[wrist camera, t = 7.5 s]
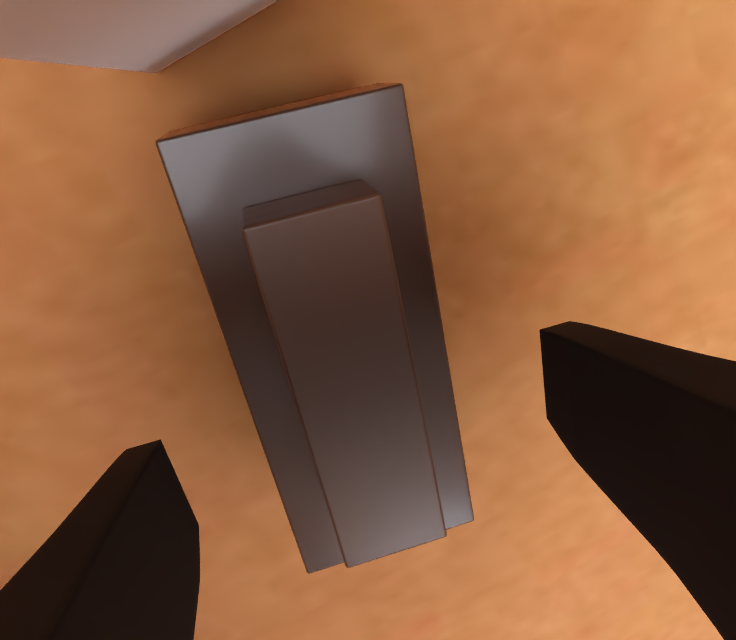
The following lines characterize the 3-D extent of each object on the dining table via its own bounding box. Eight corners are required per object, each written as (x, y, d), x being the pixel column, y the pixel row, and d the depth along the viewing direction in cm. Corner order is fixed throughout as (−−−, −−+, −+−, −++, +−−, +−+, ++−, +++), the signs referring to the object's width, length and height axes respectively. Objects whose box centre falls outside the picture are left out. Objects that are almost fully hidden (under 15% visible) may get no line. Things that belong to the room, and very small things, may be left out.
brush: (434, 444, 18) (500, 568, 14) (295, 486, 18) (315, 629, 13) (365, 82, 13) (429, 82, 9) (175, 126, 13) (138, 150, 8)
